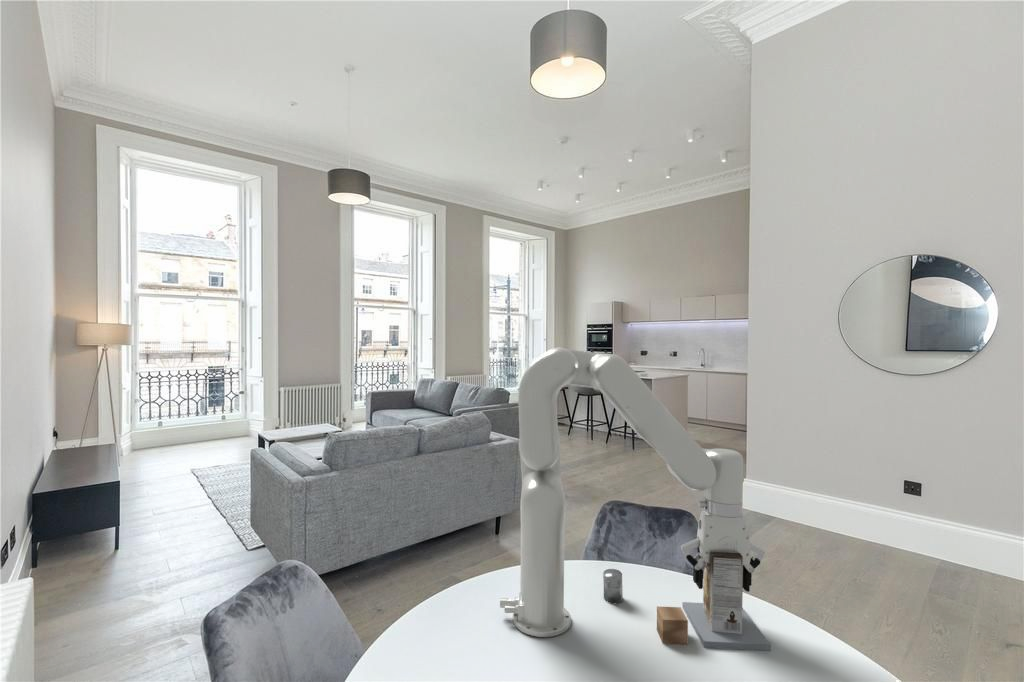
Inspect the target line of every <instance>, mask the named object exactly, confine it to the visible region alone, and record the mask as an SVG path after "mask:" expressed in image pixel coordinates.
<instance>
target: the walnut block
mask: <svg viewBox="0 0 1024 682" xmlns="http://www.w3.org/2000/svg"><path fill="white" fill-rule="evenodd" d="M656 631H657V633H658V636H659V638H660V640H661V644H662V645H675V646H676V645H677V646H688V645H689V644H688V643H689V641H688V640H689V635H688V632H689V619H688V617H687V615H686V613H685V612H684V610H683V608H682V607H680V606H656Z"/></svg>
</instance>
